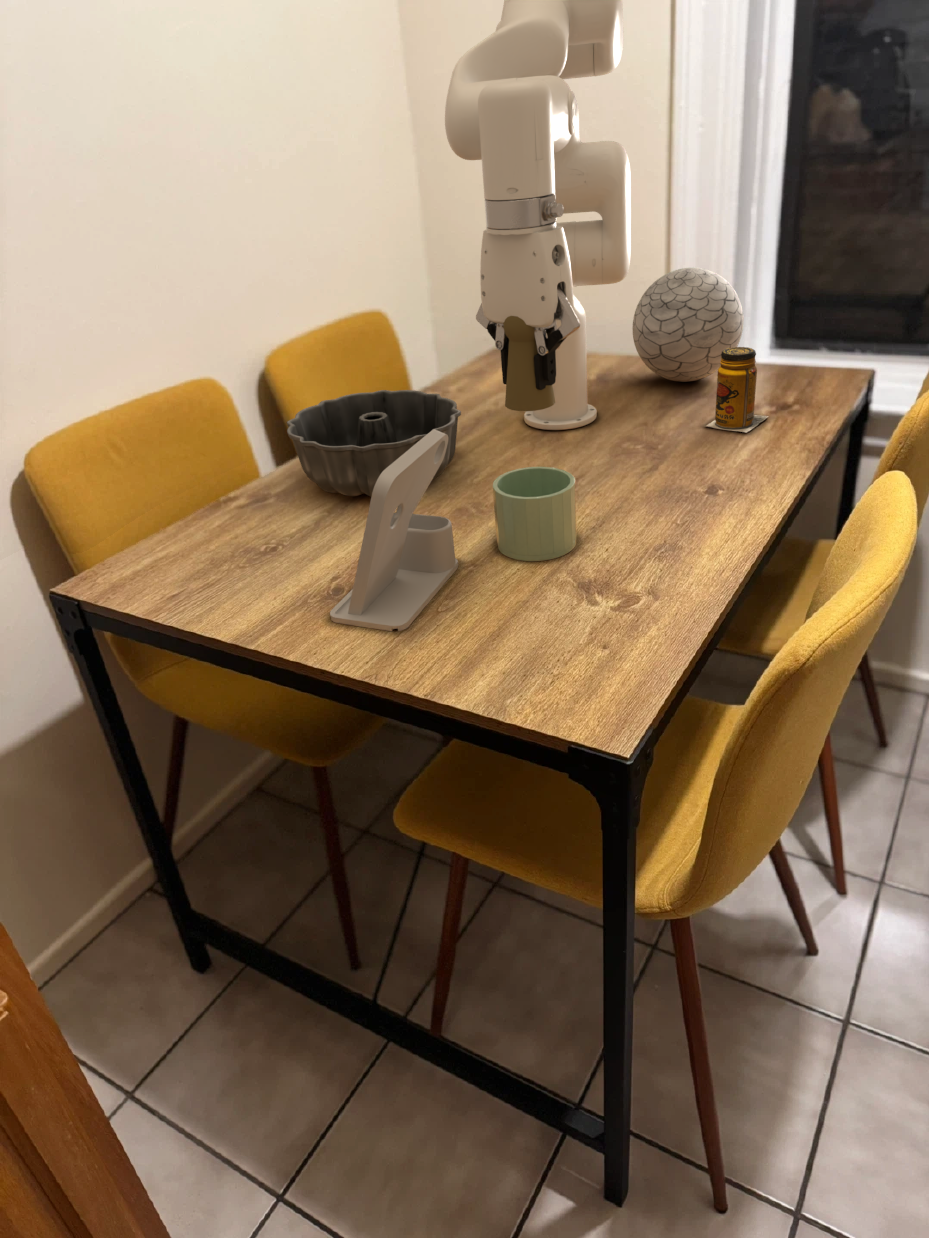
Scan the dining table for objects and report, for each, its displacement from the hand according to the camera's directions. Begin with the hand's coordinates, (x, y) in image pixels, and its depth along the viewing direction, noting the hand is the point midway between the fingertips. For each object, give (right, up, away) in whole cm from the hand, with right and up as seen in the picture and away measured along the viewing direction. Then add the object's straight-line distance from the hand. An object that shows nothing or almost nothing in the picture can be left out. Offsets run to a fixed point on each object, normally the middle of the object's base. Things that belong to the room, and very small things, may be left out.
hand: (529, 382), depth 104 cm
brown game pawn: (0, -2, +1) cm, 3 cm away
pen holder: (+2, -18, +11) cm, 21 cm away
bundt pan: (-21, -6, +35) cm, 41 cm away
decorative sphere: (+34, +18, +64) cm, 75 cm away
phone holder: (-16, -24, +3) cm, 29 cm away
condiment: (+37, +4, +42) cm, 56 cm away
